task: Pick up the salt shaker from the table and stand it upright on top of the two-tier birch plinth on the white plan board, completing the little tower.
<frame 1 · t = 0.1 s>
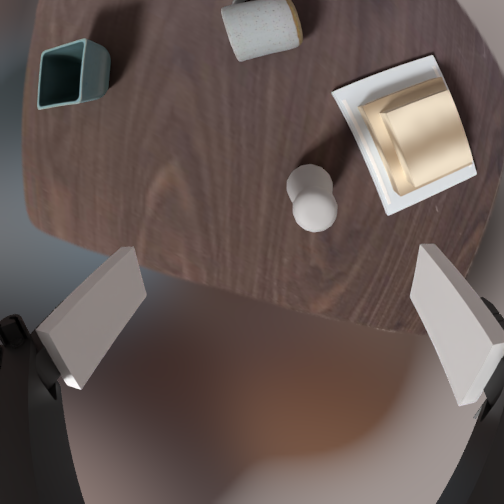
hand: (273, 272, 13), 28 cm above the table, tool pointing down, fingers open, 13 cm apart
birch plinth: (423, 135, 29), on the plan board, point 4 cm above the table
salt shaker: (308, 182, 38), on the table
flower pot: (97, 76, 35), on the table
plan board: (412, 132, 33), on the table
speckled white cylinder: (260, 27, 30), on the table
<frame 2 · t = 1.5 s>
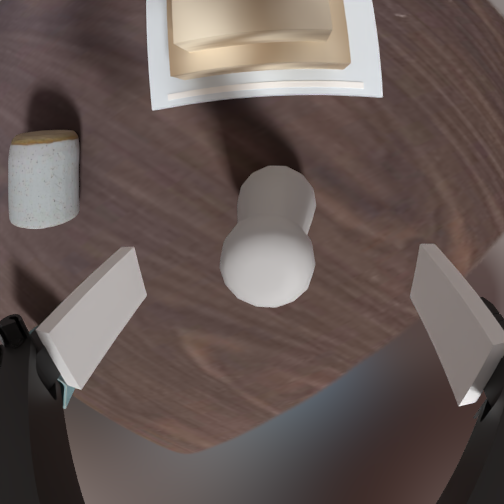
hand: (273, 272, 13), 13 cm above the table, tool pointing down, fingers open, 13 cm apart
salt shaker: (278, 194, 24), on the table
plan board: (257, 7, 17), on the table
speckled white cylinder: (59, 167, 25), on the table
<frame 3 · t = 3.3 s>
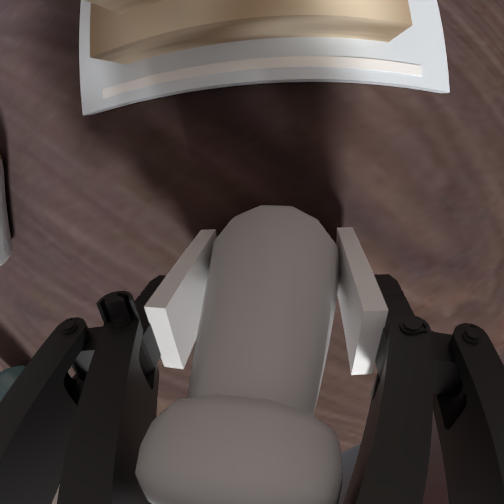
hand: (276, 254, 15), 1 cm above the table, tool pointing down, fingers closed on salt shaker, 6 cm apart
salt shaker: (277, 245, 16), on the table, touching gripper
flower pot: (40, 383, 28), on the table
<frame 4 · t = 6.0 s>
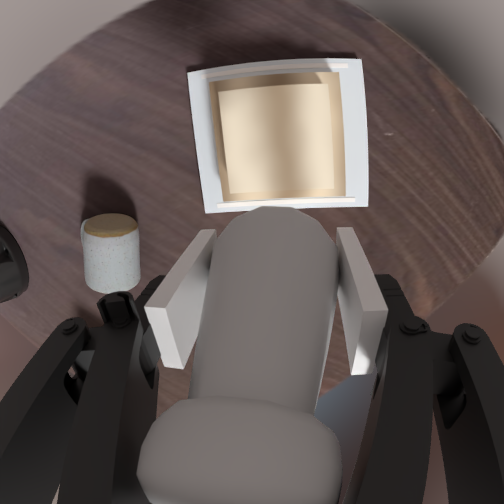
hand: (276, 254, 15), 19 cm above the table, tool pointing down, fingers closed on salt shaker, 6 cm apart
birch plinth: (279, 136, 26), on the plan board, point 4 cm above the table
salt shaker: (277, 246, 16), point 18 cm above the table, touching gripper
plan board: (280, 134, 29), on the table
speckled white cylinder: (117, 239, 38), on the table
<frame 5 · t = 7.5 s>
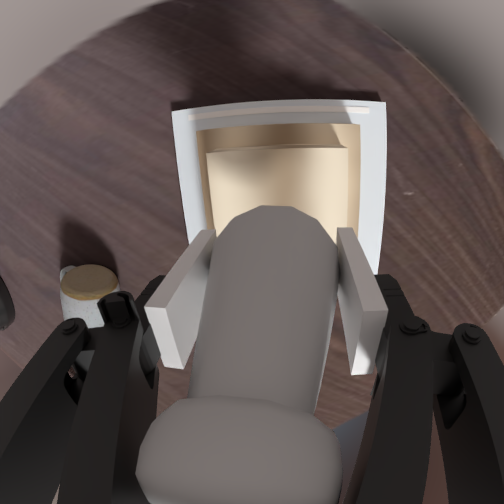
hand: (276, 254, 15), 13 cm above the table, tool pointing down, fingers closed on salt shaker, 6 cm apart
birch plinth: (281, 204, 22), on the plan board, point 4 cm above the table
salt shaker: (277, 245, 16), point 12 cm above the table, touching gripper
plan board: (282, 191, 26), on the table
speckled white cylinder: (99, 288, 34), on the table
when the fingers open (9 cm above the table, at t = 8.8 s): salt shaker drops 1 cm, resting on birch plinth.
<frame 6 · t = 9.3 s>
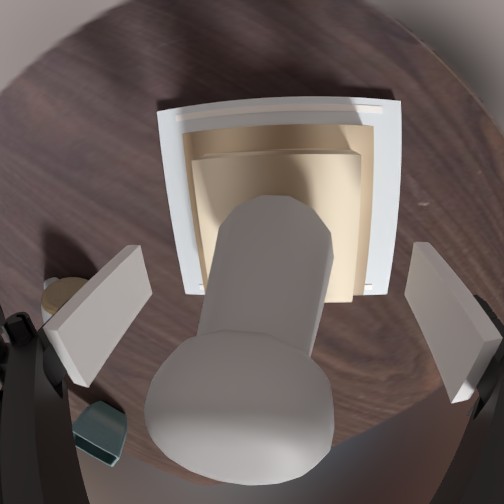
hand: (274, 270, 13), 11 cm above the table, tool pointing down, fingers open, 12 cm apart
birch plinth: (281, 218, 19), on the plan board, point 4 cm above the table
salt shaker: (277, 235, 17), point 7 cm above the table, touching birch plinth
flower pot: (112, 411, 42), on the table
plan board: (283, 201, 23), on the table
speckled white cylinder: (83, 301, 31), on the table
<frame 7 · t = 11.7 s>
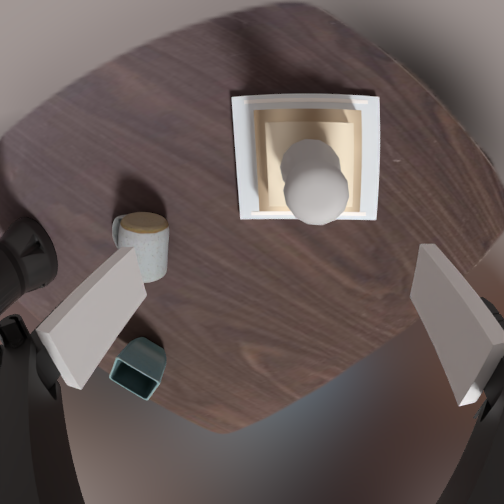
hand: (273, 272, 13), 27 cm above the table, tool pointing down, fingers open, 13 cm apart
birch plinth: (309, 160, 32), on the plan board, point 4 cm above the table
salt shaker: (309, 164, 30), point 7 cm above the table, touching birch plinth
flower pot: (150, 348, 55), on the table
plan board: (308, 156, 36), on the table
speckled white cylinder: (146, 234, 44), on the table
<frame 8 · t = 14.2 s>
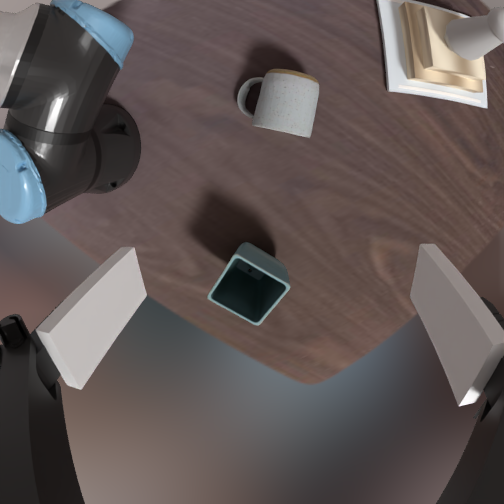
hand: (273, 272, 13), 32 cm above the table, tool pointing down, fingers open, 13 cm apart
birch plinth: (447, 45, 26), on the plan board, point 4 cm above the table
salt shaker: (456, 42, 24), point 7 cm above the table, touching birch plinth
flower pot: (255, 262, 49), on the table
plan board: (436, 50, 30), on the table
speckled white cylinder: (277, 104, 38), on the table
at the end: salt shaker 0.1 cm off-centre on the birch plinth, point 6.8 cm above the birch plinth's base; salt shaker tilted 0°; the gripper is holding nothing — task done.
